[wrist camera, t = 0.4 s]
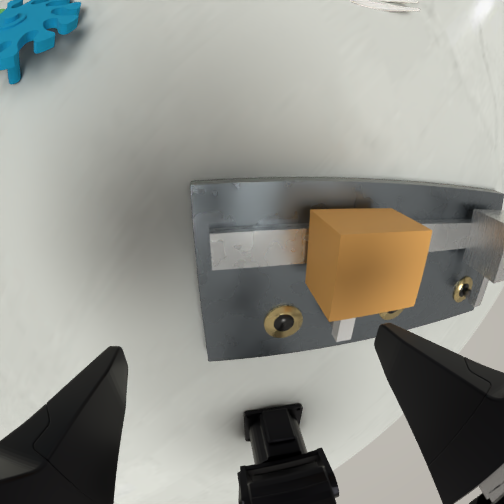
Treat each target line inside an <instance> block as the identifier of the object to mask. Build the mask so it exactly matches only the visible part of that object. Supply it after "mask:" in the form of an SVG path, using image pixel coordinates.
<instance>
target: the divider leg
mask: <svg viewBox="0 0 504 504" xmlns="http://www.w3.org/2000/svg"><path fill="white" fill-rule="evenodd" d="M431 236H432V230H431V229H429V228H427V227H426V226H424V225H422V224H420V223H418V222H416V221H415V220H413V219H411V218H409V217H407V216H405V215H403V214H402V213H400V212H398V211H396V210H394V209H392V208H361V209H310V222H309V239H308V253H307V267H306V279H305V283H306V285H307V287H308V288H309V290H310V292H311V293H312V295H313V296H314V298H315V300H316V301H317V303H318V305H319V306H320V308H321V310H322V311H323V313H324V315H325V316H326V318H327V320H328V322H329V323H330V325H331V327H332V328H333V329H332V335H333V337H334V339H335V341H336V342H339V341H345V340H350V339H351V336H352V332H353V328H354V323H355V319H356V317H362V316H368V315H373V314H378V313H384V312H389V311H394V310H399V309H403V308H408V307H413V306H414V304H415V301H416V298H417V294H418V291H419V287H420V283H421V280H422V276H423V272H424V268H425V263H426V259H427V255H428V250H429V245H430V241H431Z"/></svg>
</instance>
